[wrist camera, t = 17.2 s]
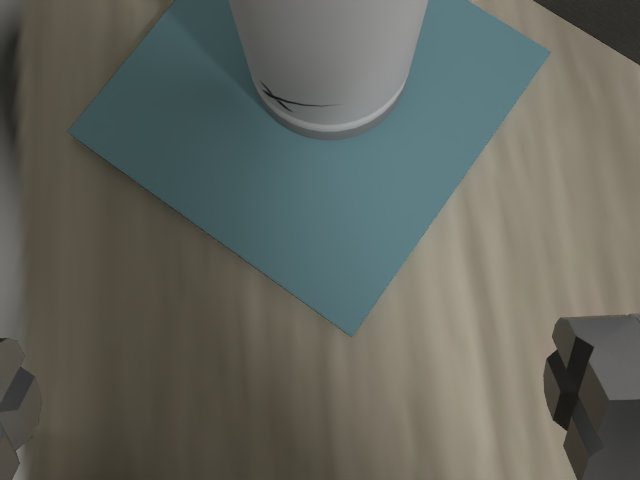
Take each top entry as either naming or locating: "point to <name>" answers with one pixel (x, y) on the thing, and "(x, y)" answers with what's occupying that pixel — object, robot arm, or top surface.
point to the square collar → (604, 21)
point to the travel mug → (329, 60)
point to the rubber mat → (307, 148)
